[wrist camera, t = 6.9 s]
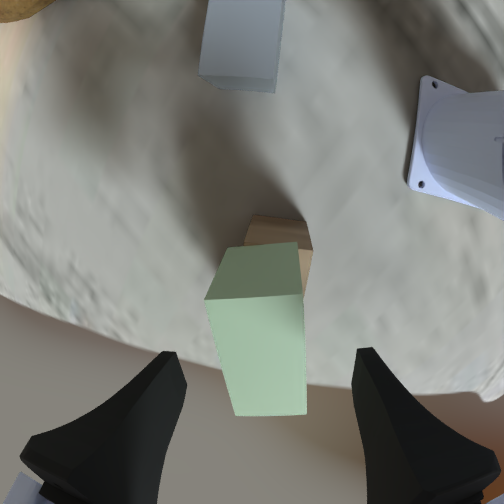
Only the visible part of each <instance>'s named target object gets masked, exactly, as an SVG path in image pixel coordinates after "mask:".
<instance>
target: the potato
mask: <svg viewBox="0 0 504 504" xmlns="http://www.w3.org/2000/svg"><path fill="white" fill-rule="evenodd" d="M54 1H56V0H0V23H8V22H14V21H19V20H22V19H26V18H29V17H31V16H32V15H34V14H35V13H37V12H38V11H40V10H42V9H43V8H45V7H46V6H48V5H49V4H51V3H53V2H54Z"/></svg>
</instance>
